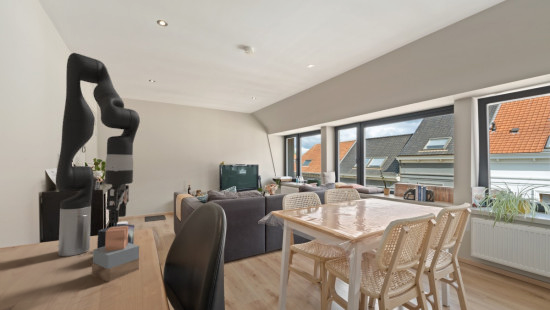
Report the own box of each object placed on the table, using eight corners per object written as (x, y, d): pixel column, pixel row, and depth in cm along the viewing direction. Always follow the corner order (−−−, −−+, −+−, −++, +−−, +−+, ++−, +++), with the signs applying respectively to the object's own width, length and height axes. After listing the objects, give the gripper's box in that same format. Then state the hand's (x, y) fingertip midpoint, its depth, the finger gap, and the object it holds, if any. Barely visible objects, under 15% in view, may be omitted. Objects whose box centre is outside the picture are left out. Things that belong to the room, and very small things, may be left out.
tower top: (92, 262, 73) (93, 249, 73) (123, 253, 81) (123, 241, 81) (108, 269, 68) (108, 255, 68) (138, 258, 76) (139, 245, 76)
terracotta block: (110, 245, 76) (110, 227, 76) (127, 244, 78) (128, 225, 78) (105, 251, 72) (105, 231, 72) (124, 249, 73) (124, 229, 74)
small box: (110, 262, 82) (111, 231, 82) (95, 260, 83) (96, 230, 84) (134, 251, 92) (135, 224, 93) (120, 249, 94) (121, 223, 94)
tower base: (91, 276, 72) (92, 263, 72) (121, 265, 80) (121, 253, 80) (109, 283, 68) (109, 269, 68) (138, 270, 76) (139, 257, 76)
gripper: (113, 168, 81) (111, 215, 81) (97, 169, 68) (95, 226, 67) (137, 168, 84) (136, 214, 83) (127, 169, 70) (125, 224, 70)
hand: (118, 219), depth 75 cm, fingers open, 8 cm apart
